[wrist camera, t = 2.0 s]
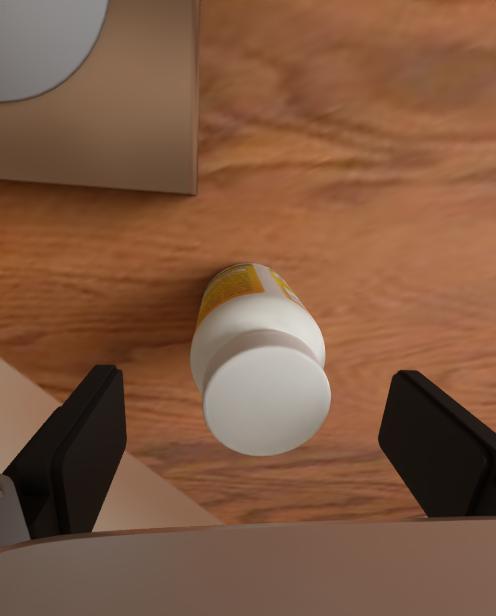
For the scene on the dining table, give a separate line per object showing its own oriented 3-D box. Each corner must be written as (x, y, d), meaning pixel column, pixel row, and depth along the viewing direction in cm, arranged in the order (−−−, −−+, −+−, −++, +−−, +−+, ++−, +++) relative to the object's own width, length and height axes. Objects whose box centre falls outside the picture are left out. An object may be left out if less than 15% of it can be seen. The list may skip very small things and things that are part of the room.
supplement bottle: (301, 274, 18) (384, 348, 9) (274, 353, 19) (320, 484, 10) (213, 250, 17) (203, 304, 8) (192, 334, 18) (164, 460, 9)
